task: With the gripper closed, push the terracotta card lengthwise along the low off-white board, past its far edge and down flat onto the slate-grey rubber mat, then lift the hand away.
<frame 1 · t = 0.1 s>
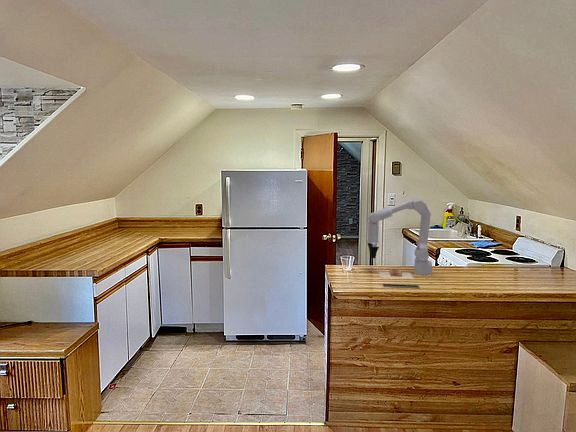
hand: (372, 256, 242), 10 cm above the worktop, fingers open, 7 cm apart
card: (395, 274, 237), point 1 cm above the worktop, touching board
board: (395, 277, 236), on the worktop
mat: (399, 283, 222), on the worktop
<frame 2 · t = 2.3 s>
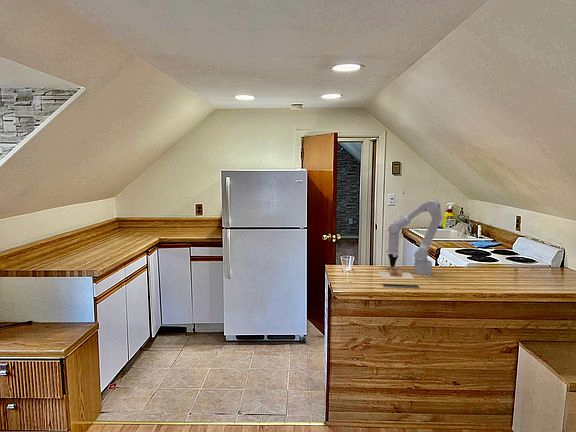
hand: (392, 266, 248), 3 cm above the worktop, fingers closed
nothing on the worktop moved.
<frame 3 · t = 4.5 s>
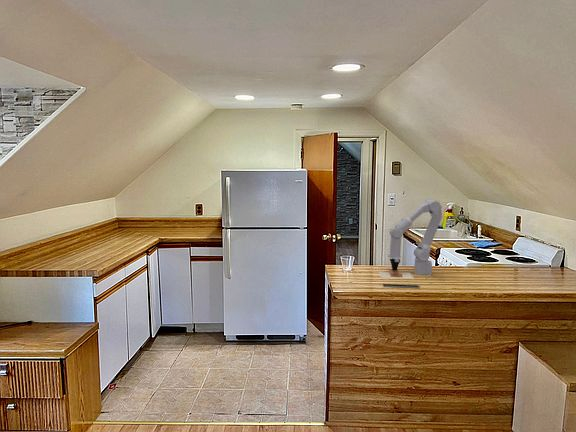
hand: (394, 271, 240), 2 cm above the worktop, fingers closed
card: (395, 275, 235), point 1 cm above the worktop
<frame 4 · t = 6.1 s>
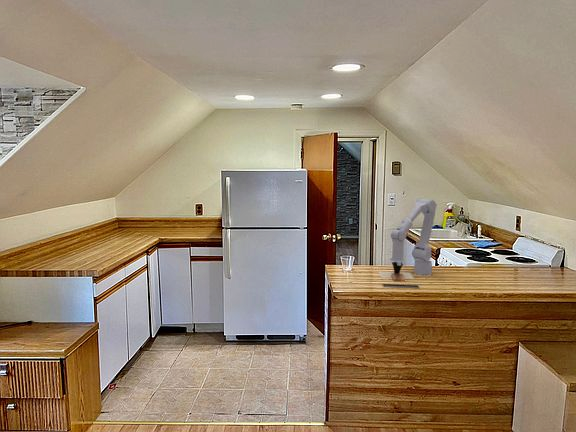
hand: (396, 275, 232), 2 cm above the worktop, fingers closed
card: (397, 279, 227), point 1 cm above the worktop, tilted 9°, touching board, gripper
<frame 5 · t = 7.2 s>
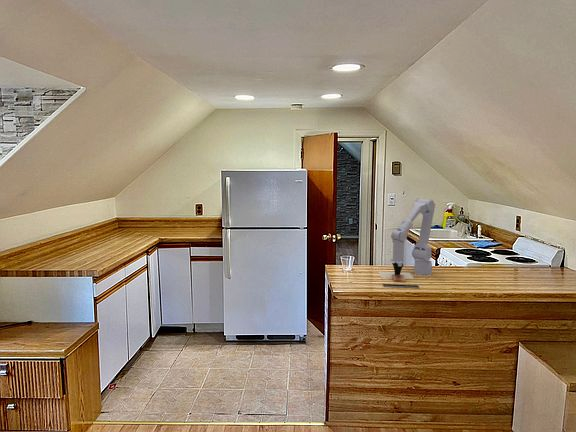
hand: (397, 276, 230), 2 cm above the worktop, fingers closed
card: (398, 280, 225), point 1 cm above the worktop, tilted 7°, touching board, gripper, mat
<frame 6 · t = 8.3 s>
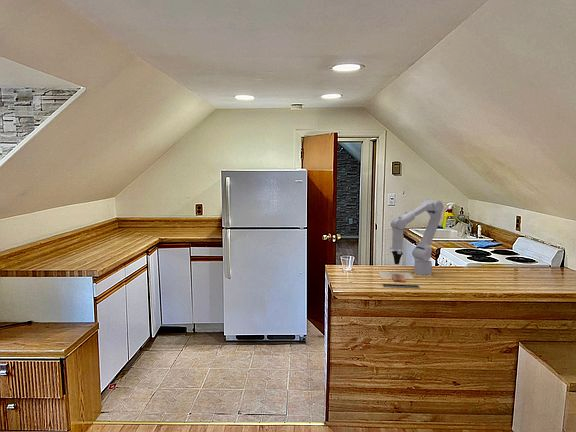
hand: (396, 264, 233), 8 cm above the worktop, fingers closed
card: (398, 280, 225), point 1 cm above the worktop, tilted 7°, touching board, mat
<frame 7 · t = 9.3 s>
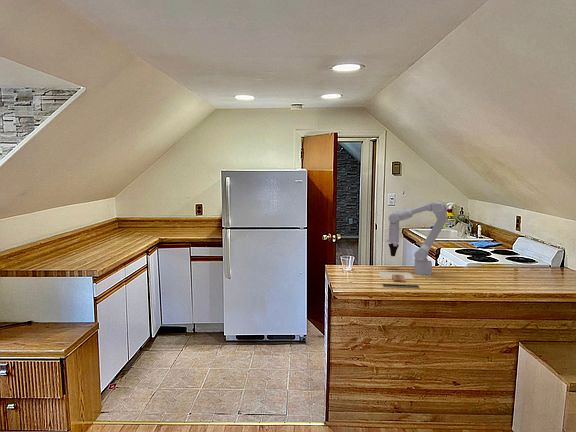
hand: (393, 256, 247), 9 cm above the worktop, fingers closed
nothing on the worktop moved.
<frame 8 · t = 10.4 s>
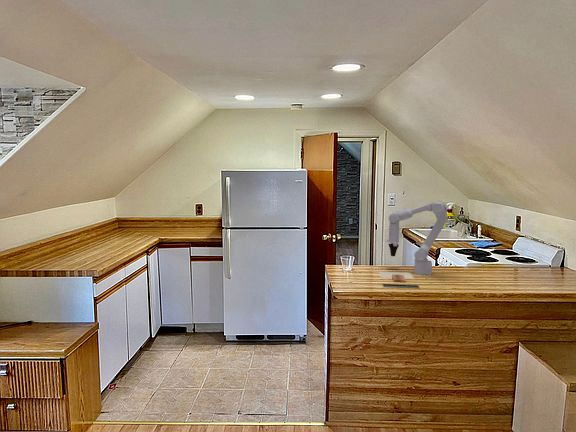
hand: (393, 256, 247), 9 cm above the worktop, fingers closed
nothing on the worktop moved.
at the end: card inside the target area on the mat (3.2 cm from its centre), point 0.8 cm above the mat's base; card tilted 7° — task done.
